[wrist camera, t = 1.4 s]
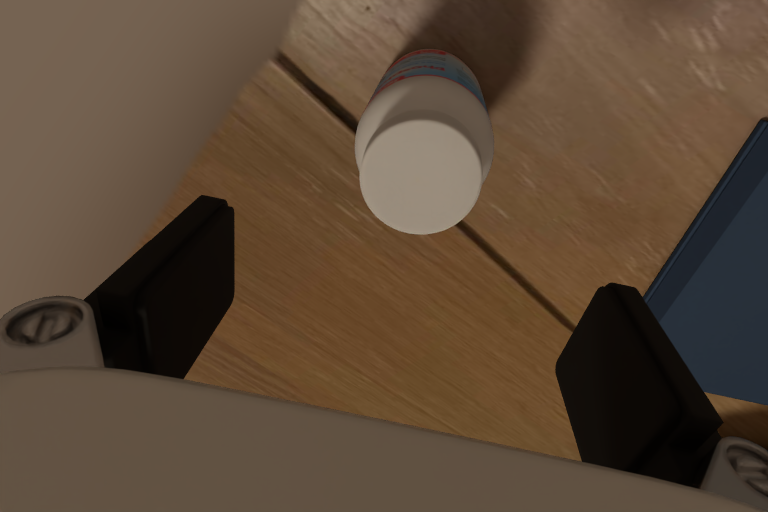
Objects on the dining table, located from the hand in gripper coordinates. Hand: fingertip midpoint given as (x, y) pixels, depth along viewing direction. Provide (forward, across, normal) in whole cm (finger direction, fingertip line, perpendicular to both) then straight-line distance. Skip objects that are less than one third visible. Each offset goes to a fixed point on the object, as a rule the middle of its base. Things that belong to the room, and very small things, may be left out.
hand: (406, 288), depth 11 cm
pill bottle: (+18, 0, -1) cm, 18 cm away
